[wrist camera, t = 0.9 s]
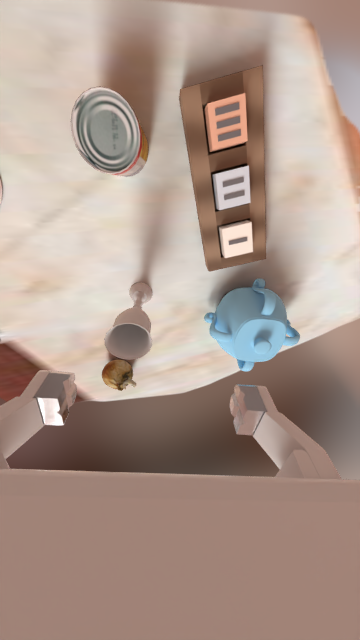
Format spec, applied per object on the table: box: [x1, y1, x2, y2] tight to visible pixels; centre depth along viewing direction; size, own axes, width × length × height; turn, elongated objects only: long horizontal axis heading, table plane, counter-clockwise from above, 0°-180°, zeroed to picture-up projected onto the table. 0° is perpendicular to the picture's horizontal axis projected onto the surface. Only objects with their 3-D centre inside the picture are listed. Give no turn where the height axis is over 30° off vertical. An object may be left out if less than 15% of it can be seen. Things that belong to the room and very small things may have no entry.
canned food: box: [71, 86, 148, 177], centre depth 31 cm, size 8×8×12 cm
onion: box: [102, 360, 136, 391], centre depth 57 cm, size 8×8×8 cm
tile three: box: [204, 93, 248, 152], centre depth 32 cm, size 5×5×3 cm
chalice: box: [104, 283, 152, 360], centre depth 42 cm, size 7×7×18 cm
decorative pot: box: [204, 278, 300, 371], centre depth 47 cm, size 16×16×14 cm
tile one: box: [219, 220, 253, 258], centre depth 40 cm, size 5×5×3 cm
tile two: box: [212, 166, 251, 210], centre depth 36 cm, size 5×5×3 cm
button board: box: [179, 65, 266, 272], centre depth 38 cm, size 26×11×4 cm, turn 12°
